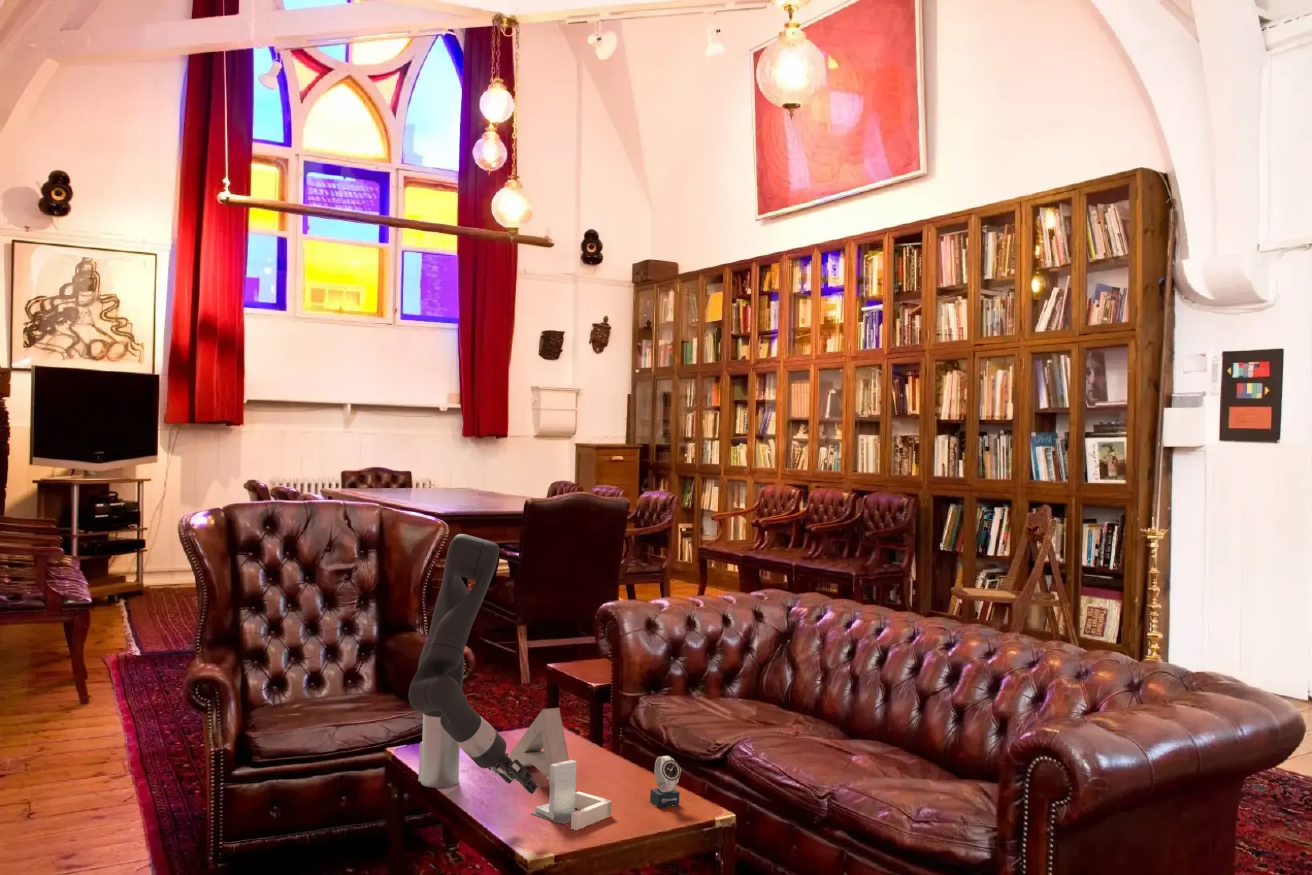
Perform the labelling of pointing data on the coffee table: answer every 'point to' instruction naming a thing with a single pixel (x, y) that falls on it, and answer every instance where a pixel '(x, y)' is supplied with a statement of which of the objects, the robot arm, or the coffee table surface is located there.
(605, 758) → the coffee table surface
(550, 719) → the letter a
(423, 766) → the robot arm
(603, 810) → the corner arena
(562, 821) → the mat
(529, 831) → the coffee table surface
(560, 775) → the angle bracket
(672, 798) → the watch
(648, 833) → the coffee table surface
